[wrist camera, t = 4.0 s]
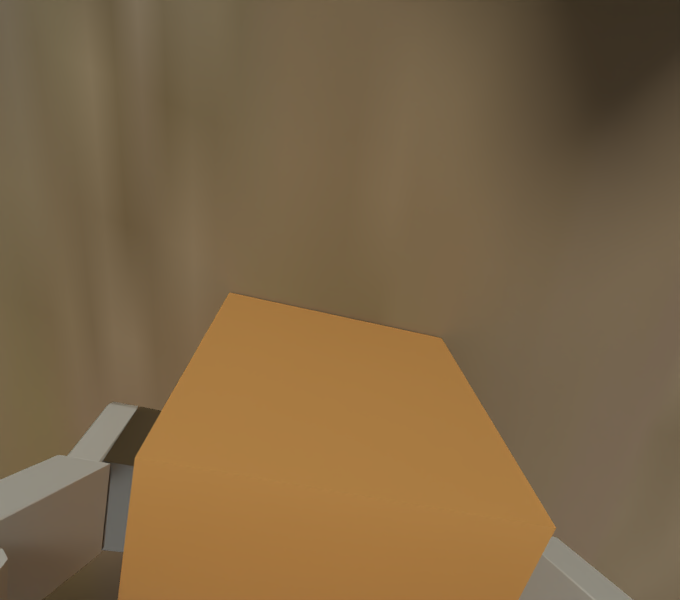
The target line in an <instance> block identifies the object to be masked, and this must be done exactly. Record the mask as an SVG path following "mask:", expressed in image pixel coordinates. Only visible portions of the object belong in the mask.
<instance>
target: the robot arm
mask: <svg viewBox="0 0 680 600" xmlns="http://www.w3.org/2000/svg"><path fill="white" fill-rule="evenodd" d="M160 413H161V411H160V410H155V409H150V408H145V407H139V406H135V405H129V404H124V403H118V402H112V403H110V404H109V405H107V407H106V408H105V409H104V410H103V412H102V413H101V414H100V415H99V417H98V418H97V419H96V420H95V422H94V423H93V424H92V425H91V427H90V428H89V429H88V430H87V432H86V433H85V434H84V435H83V437H82V438H81V439H80V441H79V442H78V443H77V444H76V446H75V447H74V448H73V449H72V451H71V452H70V453H69V454H68V456H62V455H57V456H55V457H52V458H50V459H48V460H45V461H43V462H41V463H38V464H36V465H34V466H31V467H29V468H27V469H24V470H22V471H20V472H17V473H15V474H13V475H10V476H8V477H6V478H3V479H1V480H0V600H43V599H44V598H45V597H46V596H48V595H49V594H50V593H51V592H53V591H54V590H55V589H56V588H58V587H59V586H60V585H61V584H63V583H64V582H65V581H66V580H68V579H69V578H70V577H71V576H73V575H74V574H75V573H76V572H78V571H79V570H80V569H82V568H83V567H84V566H85V565H87V564H88V563H89V562H90V561H92V560H93V559H94V558H95V557H97V556H98V555H99V554H100V553H101V550H109V551H117V552H124V544H125V535H126V527H127V519H128V510H129V502H130V494H131V485H132V477H133V469H134V460H135V456H136V455H137V453H138V451H139V449H140V448H141V446H142V444H143V443H144V441H145V439H146V437H147V436H148V434H149V432H150V430H151V429H152V427H153V425H154V423H155V422H156V420H157V418H158V416H159V415H160ZM519 600H633V599H632V598H630V597H629V596H628V595H627V594H625V593H624V592H623V591H622V590H621V589H619V588H618V587H617V586H616V585H614V584H613V583H612V582H611V581H609V580H608V579H607V578H606V577H605V576H603V575H602V574H601V573H600V572H598V571H597V570H596V569H595V568H594V567H592V566H591V565H590V564H589V563H587V562H586V561H585V560H584V559H582V558H581V557H580V556H579V555H578V554H576V553H575V552H574V551H573V550H571V549H570V548H569V547H568V546H567V545H565V544H564V543H563V542H562V541H560V540H559V539H558V538H556V537H551V539H550V540H549V542H548V544H547V546H546V548H545V550H544V552H543V554H542V556H541V558H540V560H539V561H538V563H537V565H536V567H535V569H534V571H533V573H532V575H531V577H530V579H529V581H528V582H527V584H526V586H525V588H524V590H523V592H522V594H521V596H520V598H519Z"/></svg>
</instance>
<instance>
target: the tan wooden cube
mask: <svg viewBox="0 0 680 600" xmlns="http://www.w3.org/2000/svg"><path fill="white" fill-rule="evenodd" d="M555 529H556V527H555V525H554V524H553V522H552V520H551V519H550V517H549V516H548V514H547V512H546V511H545V509H544V507H543V506H542V504H541V502H540V501H539V499H538V497H537V496H536V494H535V492H534V491H533V489H532V487H531V486H530V484H529V482H528V481H527V479H526V477H525V476H524V474H523V472H522V471H521V469H520V467H519V466H518V464H517V462H516V461H515V459H514V458H513V456H512V454H511V453H510V451H509V449H508V448H507V446H506V444H505V443H504V441H503V439H502V438H501V436H500V434H499V433H498V431H497V429H496V428H495V426H494V424H493V423H492V421H491V419H490V418H489V416H488V414H487V413H486V411H485V409H484V408H483V406H482V404H481V403H480V401H479V399H478V398H477V396H476V395H475V393H474V391H473V390H472V388H471V386H470V385H469V383H468V381H467V380H466V378H465V376H464V375H463V373H462V371H461V370H460V368H459V366H458V365H457V363H456V361H455V360H454V358H453V356H452V355H451V353H450V351H449V350H448V348H447V346H446V345H445V343H444V341H443V340H442V338H438V337H434V336H429V335H425V334H420V333H415V332H411V331H406V330H401V329H397V328H392V327H387V326H383V325H378V324H373V323H369V322H364V321H360V320H355V319H350V318H346V317H341V316H336V315H332V314H327V313H322V312H318V311H313V310H309V309H304V308H299V307H295V306H290V305H285V304H281V303H276V302H271V301H267V300H262V299H257V298H253V297H248V296H244V295H239V294H234V293H230V292H229V294H228V296H227V298H226V299H225V301H224V303H223V305H222V306H221V308H220V310H219V312H218V313H217V315H216V317H215V319H214V320H213V322H212V324H211V326H210V327H209V329H208V331H207V333H206V334H205V336H204V338H203V340H202V341H201V343H200V345H199V347H198V348H197V350H196V352H195V354H194V355H193V357H192V359H191V360H190V362H189V364H188V366H187V367H186V369H185V371H184V373H183V374H182V376H181V378H180V380H179V381H178V383H177V385H176V387H175V388H174V390H173V392H172V394H171V395H170V397H169V399H168V401H167V402H166V404H165V406H164V408H163V409H162V411H161V413H160V415H159V416H158V418H157V420H156V422H155V423H154V425H153V427H152V429H151V430H150V432H149V434H148V436H147V437H146V439H145V441H144V443H143V444H142V446H141V448H140V449H139V451H138V453H137V455H136V456H135V460H134V469H133V477H132V485H131V494H130V502H129V510H128V519H127V527H126V535H125V544H124V552H123V560H122V569H121V577H120V585H119V594H118V600H519V598H520V596H521V594H522V592H523V590H524V588H525V586H526V584H527V582H528V581H529V579H530V577H531V575H532V573H533V571H534V569H535V567H536V565H537V563H538V561H539V560H540V558H541V556H542V554H543V552H544V550H545V548H546V546H547V544H548V542H549V540H550V539H551V537H552V535H553V533H554V531H555Z"/></svg>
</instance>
